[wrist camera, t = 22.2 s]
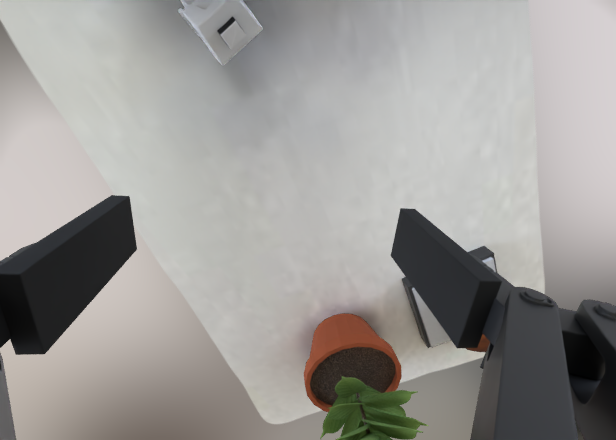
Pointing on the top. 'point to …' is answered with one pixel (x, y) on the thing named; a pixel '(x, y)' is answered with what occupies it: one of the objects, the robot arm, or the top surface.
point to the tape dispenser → (221, 25)
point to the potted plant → (357, 382)
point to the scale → (424, 317)
